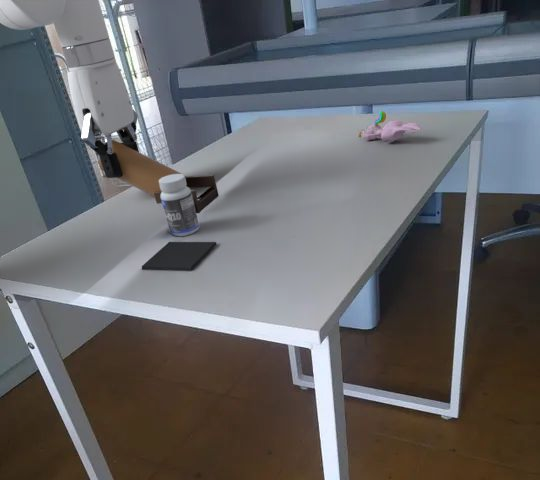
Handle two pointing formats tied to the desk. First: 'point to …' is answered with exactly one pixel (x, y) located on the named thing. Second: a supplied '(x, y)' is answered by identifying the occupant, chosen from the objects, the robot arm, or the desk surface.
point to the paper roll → (139, 169)
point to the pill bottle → (178, 205)
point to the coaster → (179, 256)
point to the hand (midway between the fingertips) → (124, 169)
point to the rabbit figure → (387, 129)
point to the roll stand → (195, 182)
